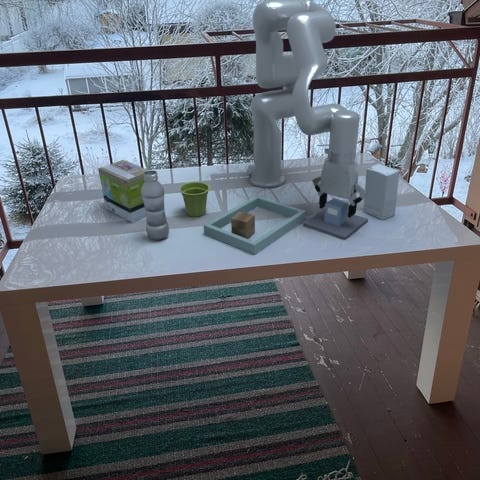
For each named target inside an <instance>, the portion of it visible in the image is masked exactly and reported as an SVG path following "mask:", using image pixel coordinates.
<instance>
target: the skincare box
mask: <svg viewBox="0 0 480 480" xmlns="http://www.w3.org/2000/svg"><path fill="white" fill-rule="evenodd" d="M399 179H400V170H398V169H395V168H392V167H389V166H387V165H384V164H380V163H377V164H375V165H372V166H370V167H367V168H366V174H365V186H364V187H365V188H364V190H365V191H366V192H367V195H366V196H365V197H364V199H363V201H364V202H363V210H362V211H363V212H364V213H367V214H368V215H371V216H373V217H375V218H377V219H379V220H382V221H383V220H385V219H388V218H392V217H394V216H395V214H396V208H397V207H396V206H397V198H398V196H397V195H398V190H399V189H398V186H399Z"/></svg>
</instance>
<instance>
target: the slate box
mask: <svg viewBox="0 0 480 480" xmlns="http://www.w3.org/2000/svg"><path fill="white" fill-rule="evenodd" d="M349 205H350V202H349V201H346V200H344V199H343V200H342V199H339V198H336V197H333V198H332V199H330V200H329V201H327V203H326V204H325V207H324V209H325V216H324V222H327V223H330V224H333V225H336V226H340V225H342V224H343V223H344V222H345V221H347V217H348V208H349Z"/></svg>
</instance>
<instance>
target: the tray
mask: <svg viewBox="0 0 480 480" xmlns="http://www.w3.org/2000/svg"><path fill="white" fill-rule="evenodd" d="M258 207H259V208H260V209H264V210H266V211H267V210H268V211H271V212H273V213H276V214H279V215H282V216H286V217H288V219H286V220H284V221H283V222H282V223H280V224H279V225H277V226H275V227H274V228H272V229H271V230H269V231H268V232H265V234H263V235H262V236H260V237H259V238H256V240H253V241H252V240H251V239H246V238H243V237H241V236H238V235H236V234H233V233H232V231H231V232H230V231H228V230H224V229H223V227H225V226H226V225H229V224H231V218H232V217H234V216H235V215H236V214H237V213H238V212H244V213H250V212H251V211H252V210H255V209H256V208H258ZM306 219H307V211H306V210H303V209H300V208H297V207H295V206H292V205H291V206H290V205H288V204H285V203H281V202H280V201H279V202H278V201H276V200H272V199H268V198H265V197H262V196H259V195H255V196H254V197H251V198H250V199H249V200H247V201H245V202H243V203H241V204H240V205H237V206H236V207H234V208H232V209H230V210H229V211H227V212H225V213H223V214H221V215H219V216H217V217H216V218H214V219H212V220H210V221H209V222H206V223H204V224H203V234H204V235H206V236H208V237H211V238H213V239H215V240H218V241H219V242H220V241H221V242H223V243H225V244H227V245H230V246H233V247H235V248H238V249H240V250H242V251H244V252H247V253H249V254H252V255H256V254H258V253H260V252H261V251H263V250H264V249H265V248H267V247H268V246H270V245H271V244H272V243H274V242H276V241H277V240H278V239H279V238H281V237H283V236H284V235H286V234H287V233H288V232H290V231H292V230H293V229H294V228H296V227H297V226H299V225H300V224H302V223H304V222H306V221H307V220H306Z"/></svg>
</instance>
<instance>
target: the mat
mask: <svg viewBox="0 0 480 480" xmlns="http://www.w3.org/2000/svg"><path fill="white" fill-rule="evenodd" d="M324 216H325V208H324V209H323V208H322V209H321V211H319V212H317V213H315V215H313V216H312V217H310V218H309V219H307V220H305V221H303V222H302V223H303V227H305V228H308V229H311V230H314V231H317V232H319V233H320V232H321V233H323V234H326V235H328V236H331V237H335V238H337V239H340V240H343V241H346V240H347V239H349V238H350V237H351V236H352V235H354V233H356V232H357V231H358V230H359V229H361V228H362V227H363V226H365V225H366V224H367V223H368V222H369V221H368V220H369V219H368V217H363V216H360V215H356V214H354V215H353V216H352V217H350V218H349V217H347V221H345V222H344V223H343V224H342V225H340V226H336V225H333V224H330V223H327V222H324Z"/></svg>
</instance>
